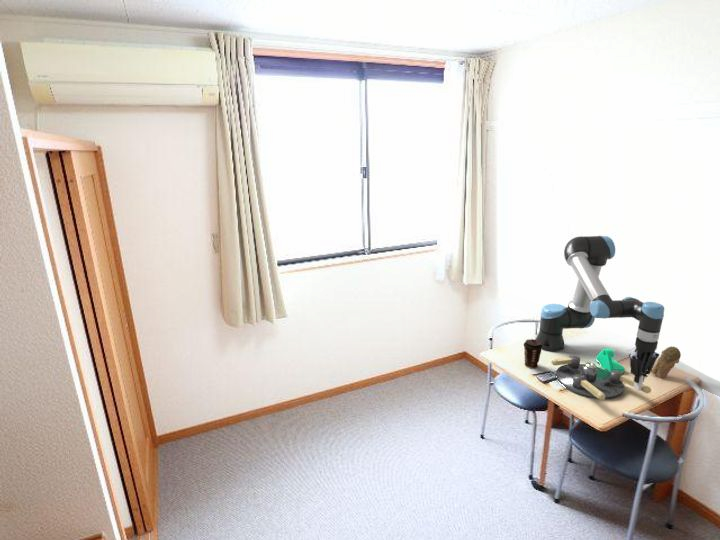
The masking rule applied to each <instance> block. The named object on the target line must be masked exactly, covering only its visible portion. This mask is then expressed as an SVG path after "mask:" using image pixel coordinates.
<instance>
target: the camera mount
mask: <svg viewBox="0 0 720 540" xmlns="http://www.w3.org/2000/svg"><path fill="white" fill-rule="evenodd" d="M614 355H615V352H614V350H613V349H612V348H603V349H602V350H601V351H600V352H599V353H598V354H597V356H596V357H595V360H596V359H597V360H598V361H599V362H600V363H599V365H600V364H601V366H600V368H601V369H604V370H606V371H609V372H611V371H612V370H618V371H621V372H623V373H624V372H625V369H626V367H624V366H623V365H622V364H620V363H619V362H618V361H616V360H615V359H614V357H615V356H614Z"/></svg>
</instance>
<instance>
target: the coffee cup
mask: <svg viewBox="0 0 720 540" xmlns="http://www.w3.org/2000/svg"><path fill="white" fill-rule="evenodd" d="M523 347H524V348H523V349H524V366H525V367H526V368H529V369H537V368H538V367H539V364H538V363H539V361H540V357H541V354H542V350H543V349H542V345H541V342H539V341H538V340H535V339H526V340H525V342H524V343H523Z"/></svg>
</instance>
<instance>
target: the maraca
mask: <svg viewBox="0 0 720 540" xmlns="http://www.w3.org/2000/svg"><path fill="white" fill-rule="evenodd" d="M551 364H552V365H553V366H563V365H566V364H568V366H569V367H570V368H573V369H578V368H579V365H580V364H581V357H580V356H578V355H571V354H570V355H569V356H568V357H561V358H553V359H551Z"/></svg>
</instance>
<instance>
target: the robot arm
mask: <svg viewBox="0 0 720 540" xmlns="http://www.w3.org/2000/svg"><path fill="white" fill-rule="evenodd" d="M563 251H564V252H563V255H564V260H565V261H566V263H567V264H568V266H570V267H571V268H572V269H573V271H574V274H576V277H577V279H578V280H577V284H576V288H575V290H574V294H573V297H572V300H570V301H569V302H568V304H567V307H566V306H564V305H563V304H561V303H559V304H558V303H550V304H549V303H548V304H546V305H544V306H543V307H542V308H541V312H540V322H539V331H538V333H537V334H536V335H537V336H536V338H535V339H534V340H538V341H539V342H541V345H542V349H541V350H544V351H546V352H561V351H563V350H564V349H565V346H566V345H565V340H564V335H563V331H564V329H566V330H567V329H568V330H569V329H581V330H582V329H587V328H591V326H593V324H594V322H595V319H616V318H617V319H618V318H633V319H634V320H636V321H638V322H639V323H638V326H637V327H638V328H637V333H636V337H635V343H634V345H635V349H634V352H633V353H628V357H629V362H630V373H631V374H632V375H633V376H634V378H633V379H634V387H633V388H634V389H636V390H637V391H641V389H642V384H643V383H644V382H645V378H647V377H648V375H650V374H651V373H652V372H651V370H652V369H653V368H654V367H655V366H654V365H655V364H656V362H657V360H658V359H659V358H660V357H659V356H660V353H658V352H656V350H657V349H658V343H659V342H658V341H659V337H660V333H661V329H662V324H663V320H664V317H665V315H664V314H665V306H664V305H663V304H660V303H659V302H658V303H657V302H653V301H645V302H643V301H641V300H639V299H638V298H635V297H632V296H626V297H625V298H622V299H621V300H620V299H619V300H615V299H614V300H613V299H612V297H611V296H610V294H609V292H608V291H607V289H606V288H605V286H604V284H603V282H602V281H601V280H600V278H599V276H600V272H601V270H602V267H604V266H606V265H607V261H608V260H611V259H613V258H614V257H615V254H616V245H615V243H614V240H613V239H612V238H611V237H610V236H607V235H593V236H591V235H590V236H588V235H587V236H583V235H581V236H575V237H573V238H572V239H570V240H568V242H567V243H566V245H565V246H564V250H563Z"/></svg>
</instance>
